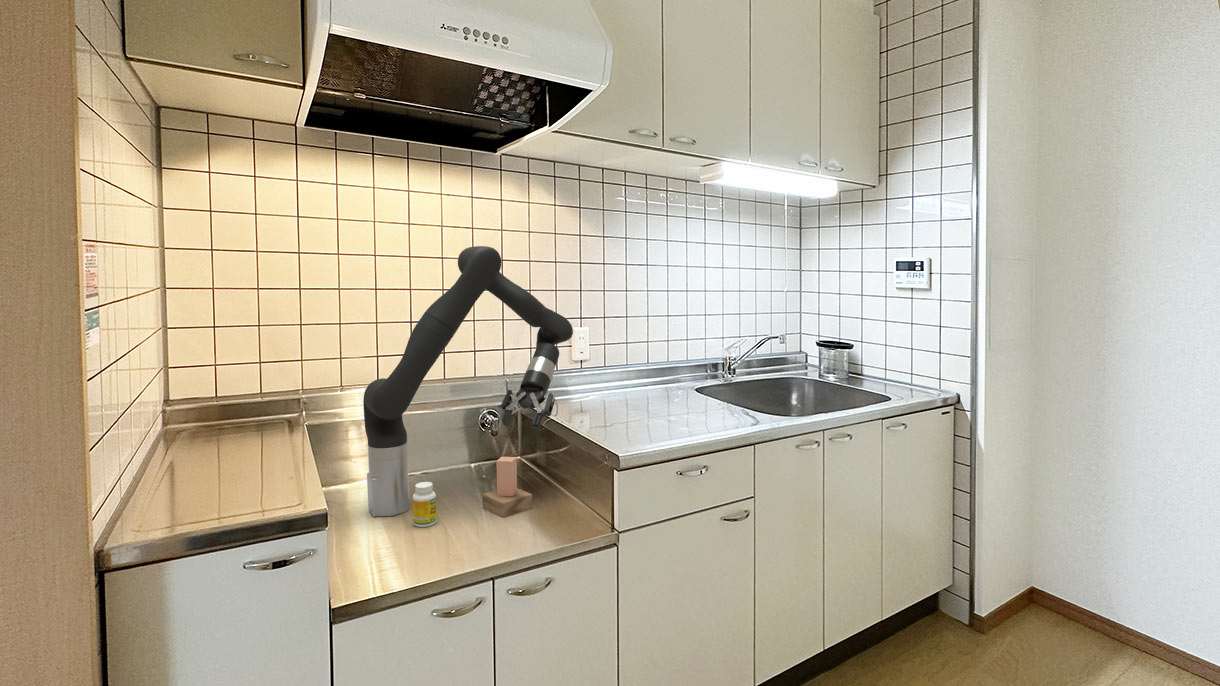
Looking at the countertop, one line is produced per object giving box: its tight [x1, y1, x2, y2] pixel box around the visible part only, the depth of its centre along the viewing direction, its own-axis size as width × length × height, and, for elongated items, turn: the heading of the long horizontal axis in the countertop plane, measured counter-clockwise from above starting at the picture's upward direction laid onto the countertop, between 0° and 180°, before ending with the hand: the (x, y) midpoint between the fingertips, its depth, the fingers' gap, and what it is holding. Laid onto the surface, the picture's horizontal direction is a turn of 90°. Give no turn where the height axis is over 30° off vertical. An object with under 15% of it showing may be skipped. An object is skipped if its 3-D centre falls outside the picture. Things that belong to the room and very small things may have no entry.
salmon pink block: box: [495, 456, 518, 496], centre depth 151 cm, size 4×4×9 cm
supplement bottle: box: [412, 481, 437, 528], centre depth 141 cm, size 5×5×10 cm
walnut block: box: [482, 487, 533, 519], centre depth 151 cm, size 9×9×4 cm
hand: (519, 426), depth 156 cm, fingers open, 8 cm apart
